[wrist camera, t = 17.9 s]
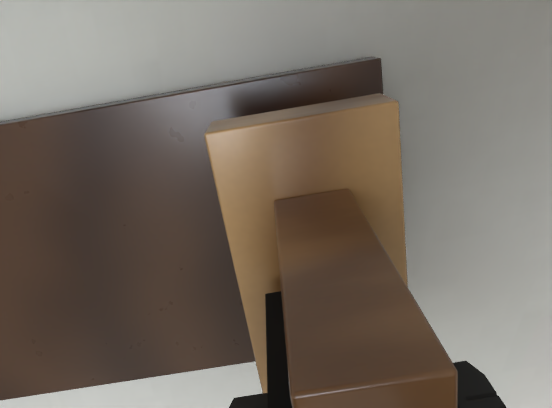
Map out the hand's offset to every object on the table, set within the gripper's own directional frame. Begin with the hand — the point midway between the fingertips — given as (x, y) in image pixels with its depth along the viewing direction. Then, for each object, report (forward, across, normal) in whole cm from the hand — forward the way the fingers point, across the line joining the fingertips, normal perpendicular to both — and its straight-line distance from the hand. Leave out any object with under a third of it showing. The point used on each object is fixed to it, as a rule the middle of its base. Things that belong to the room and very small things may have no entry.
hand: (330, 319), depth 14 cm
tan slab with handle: (+5, 0, 0) cm, 5 cm away
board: (+9, -10, 0) cm, 13 cm away
